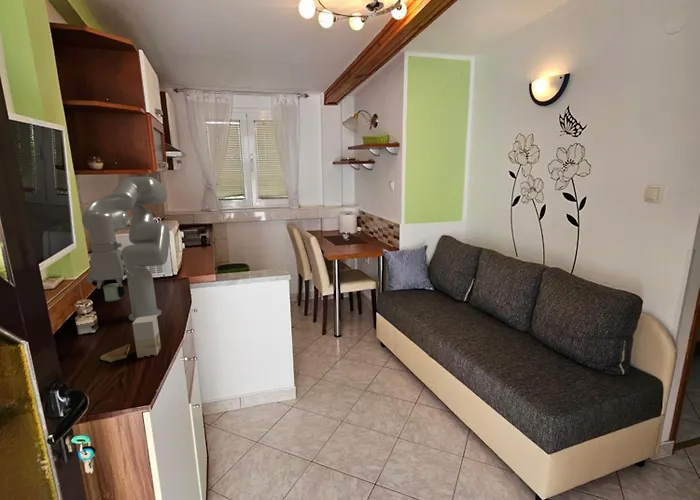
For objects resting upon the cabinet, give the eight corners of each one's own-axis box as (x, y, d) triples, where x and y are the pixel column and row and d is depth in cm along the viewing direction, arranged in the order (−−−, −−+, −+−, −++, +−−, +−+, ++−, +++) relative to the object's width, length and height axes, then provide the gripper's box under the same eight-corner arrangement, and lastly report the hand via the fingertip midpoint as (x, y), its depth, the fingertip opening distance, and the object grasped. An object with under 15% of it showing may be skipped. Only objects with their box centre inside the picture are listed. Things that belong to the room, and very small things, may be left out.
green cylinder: (108, 297, 138) (105, 284, 137) (123, 295, 139) (121, 282, 138) (103, 301, 134) (100, 288, 133) (118, 300, 135) (116, 286, 134)
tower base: (142, 350, 132) (139, 333, 131) (161, 347, 134) (158, 331, 132) (137, 357, 126) (134, 340, 125) (157, 355, 128) (154, 338, 127)
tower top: (139, 333, 131) (137, 317, 130) (158, 331, 132) (156, 315, 131) (134, 340, 125) (132, 323, 124) (154, 338, 127) (152, 321, 126)
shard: (130, 347, 136) (129, 342, 136) (144, 350, 133) (144, 345, 132) (99, 360, 126) (98, 355, 126) (114, 364, 123) (114, 359, 123)
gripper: (134, 243, 138) (142, 291, 142) (81, 247, 134) (90, 296, 138) (128, 247, 131) (136, 298, 135) (72, 251, 127) (81, 303, 131)
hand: (113, 296), depth 136 cm, fingers closed on green cylinder, 4 cm apart
